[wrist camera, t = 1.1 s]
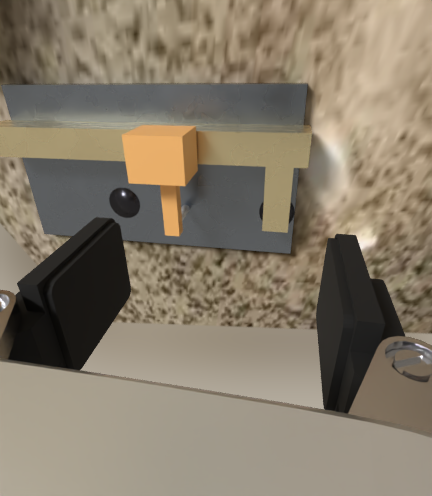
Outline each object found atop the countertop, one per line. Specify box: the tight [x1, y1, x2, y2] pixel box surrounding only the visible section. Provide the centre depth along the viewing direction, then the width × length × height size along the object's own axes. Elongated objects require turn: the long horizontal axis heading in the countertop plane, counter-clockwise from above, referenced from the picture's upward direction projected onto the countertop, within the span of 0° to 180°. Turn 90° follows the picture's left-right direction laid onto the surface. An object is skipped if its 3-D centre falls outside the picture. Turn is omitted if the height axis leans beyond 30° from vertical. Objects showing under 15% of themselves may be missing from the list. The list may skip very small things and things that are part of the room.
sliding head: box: [122, 125, 198, 236], centre depth 27 cm, size 4×8×6 cm, turn 1°
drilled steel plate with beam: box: [0, 83, 312, 254], centre depth 30 cm, size 26×14×4 cm, turn 91°
